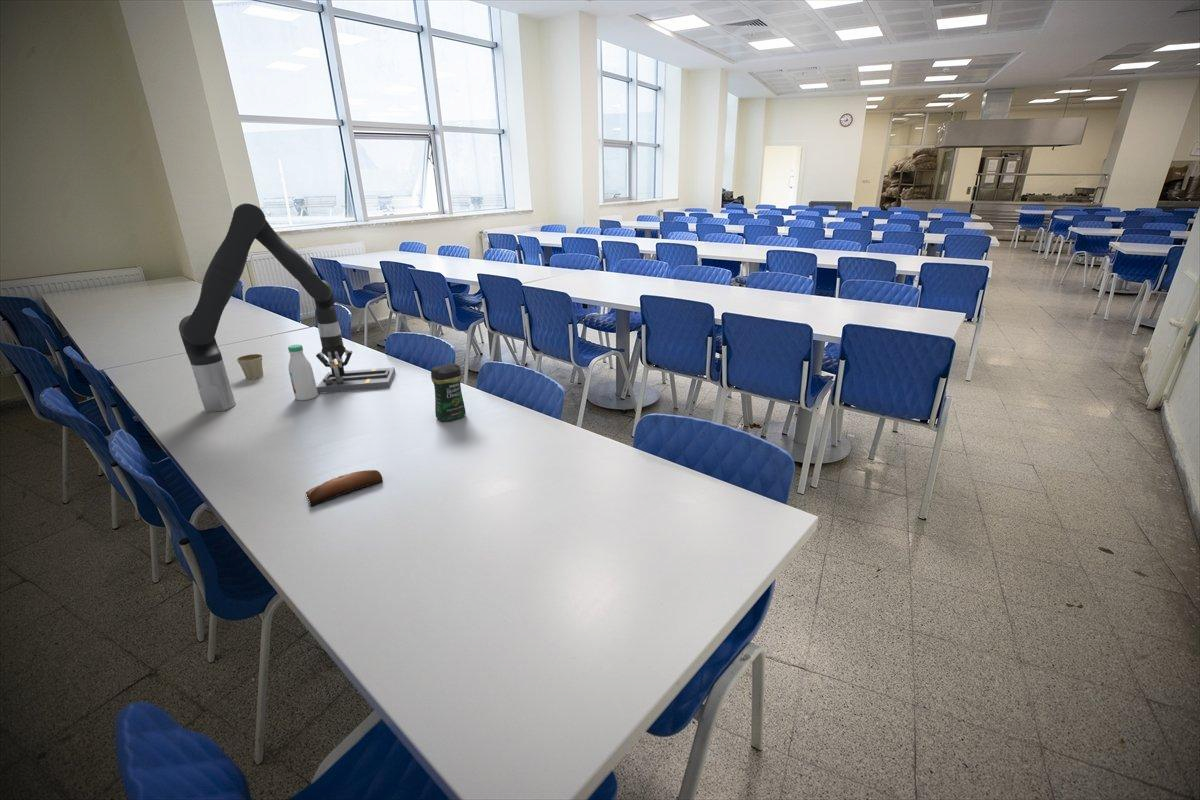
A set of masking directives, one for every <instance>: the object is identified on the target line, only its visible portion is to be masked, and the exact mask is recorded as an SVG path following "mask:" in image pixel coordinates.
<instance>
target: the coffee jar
mask: <svg viewBox="0 0 1200 800" xmlns="http://www.w3.org/2000/svg"><path fill="white" fill-rule="evenodd" d="M462 376H463V375H462V371H461V367H460V365H459V364H458V363H455V362H452V363H447V364H442V365H438V366H433V367H431V369H430V378H431V382H432V384H433V387H434V397H435V398H434V400H435V401H434V405H435V406H434V407H435V409H434V410H435V411H434V413H435V417H436V419H437V420H439V421H441V422H451V421H455V420H458V419H460V418H463V417H465V416H466V414H467V413H466V406H465V401H464V398H463V394H462V387H461V380H462Z"/></svg>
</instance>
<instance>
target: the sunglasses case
mask: <svg viewBox="0 0 1200 800" xmlns="http://www.w3.org/2000/svg"><path fill="white" fill-rule="evenodd" d="M380 482H382V483H383V482H384V479H383V476H382V474H381V472H380V471H379V470H376V469H375V470H374V469H373V470H372V469H371V470H370V469H369V470H368V469H367V470H359V471H355V472H351V473H346V474H343V475H338V477H333V478H331V479H328V480H326V481H325V482H323V483H322V484H319V485H317V486H314V487H312V488H310V489H309V490H307V491H306V492H305V493H306V494H307V496H306V498H307V497H308V498H307V500H308V499H309V500H308V502H309V501H310V502H309V505H310V507H312V506H315V505H318V504H321V503H322V502H324V501H325V502H326V501H328V500H330V499H333V498H335V497H337V496H339V495H343V494H346V493H350V492H352V491H355V490H358V489H361V488H364V487H367V486H370V485H374V484H377V483H380Z"/></svg>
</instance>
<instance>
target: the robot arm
mask: <svg viewBox="0 0 1200 800" xmlns="http://www.w3.org/2000/svg"><path fill="white" fill-rule="evenodd" d="M232 214H233V215H232V218H231V222H230V224H229V227H228V231H227V233H226V235H225V238H224V239H223V241H222V242H221V244H220V245H219V247H218V248H217V251H216V252H215V254H213V257H212V259H211V261H210V263H209V265H208V266H207V269H206V272H205V274H204V276H203V279H202V284H201V288H200V294H199V298H198V301H197V304H196V306H195V308H194V309H193V311H192V313H191V314H189V315H187V316H184V317H183V318H182V319H181V320H180V321H179V324H178V331H179V333H180V337H181V340H182V344H183V346H184V350H185V353H186V355H187V357H188V361H189V363H190V366H191V369H192V373H193V377H194V378H195V382H196V385H197V390H198V392H199V393H198V394H199V396H200V399H201V402H202V406H203V408H204V413H210V412H211V413H213V412H215V413H216V412H223V411H226V410H228V409H232V408H233V407H234V406H236V401H235V398H234V397H235V396H234V393H233V391H232V386H231V384H230V379H229V377H228V373H227V370H226V367H225V362H224V358H223V356H222V353H221V350H220V349H219V345H218V343H217V340H216V337H215V336H216V333H217V331H218V327H219V323H220V321H221V318H222V316H223V312H224V310H225V308H226V306H227V305H228V303H229V301H230V299H231V297H232V296H233V294H234V292H235V289H236V288H237V286H238V284H239V282H240V280H241V277H242V275H243V273H244V270H245V267H246V265H247V260H248V257H249V252H250V250H251V247H252V244H253V243H254V241H255V240H256V241H258V242H259V243H260V244H261V245H263V246H264V247H265V249H267V251H269V253H271V255H273V257H274V258H275V259H276V260H277V262H279V263H280V264H281V266H282V267H283V268H284V269H285V270H286V271H287V272H288V273H289V274H291V276H292V277H293V278H294V279H296V281H298V283H300V285H301V287H303V289H304V290H305V291H306V293H308V295H309V296H310V297H311V298H313V300H314V304H315V317H316V321H317V330H318V333H319V334H318V335H319V339H320V343H321V347H322V348H321V351H319V352H317V354H316V355H315V357H316V358H317V359H318V360H319V361H320V362H321V363H322V365H323V366H324V367H326V368H330V372H332V375H334V377H335V373H334V369H333V364H334V363H335V362H338V365H339V372H340V376H343V375H344V373H345V372H344V371H345V369H344V367H345V366H347V365H348V364H349V362H350V359H351V356H352V355H353V351H352V350H349V349H346V347H345V346H344V342H343V336H342V330H341V327H340V324H339V321H338V314H337V311H336V308H335V298H334V292H333V291H334V290H333V288H332V285H331V284H330V283H329V282H328V281H326V280H323V279H321V278H320V277H319V276H318V274H317V273H316V272H315V270H314V269H313V267H312V265H310V264H309V263H308V262H307V261H306V260H305V258H304V257H302V256H301V255H300V253H299V252H297V251H296V250H295V249H294V248H293V247H292V246H291V245H290V244H288V243H287V242H286V241H285V240H284V239H283V238H282V237H281V236H280V235H279V234H278V233H277V232H276V231H275V230H274V229H273V227H272V226H271V225H270V223H269V222H268V220H267V218H266V215H265V213H264V211H263V210H262V208H260V207H259V206H258V205H256V204H254V203H250V202H246V203H240V204H238V205H237V206H236V207H235V208H234V210H233V213H232ZM344 353H345V356H346V357H345V359H344V361H343V355H344ZM327 359H328V360H327ZM335 360H336V361H335Z"/></svg>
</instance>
